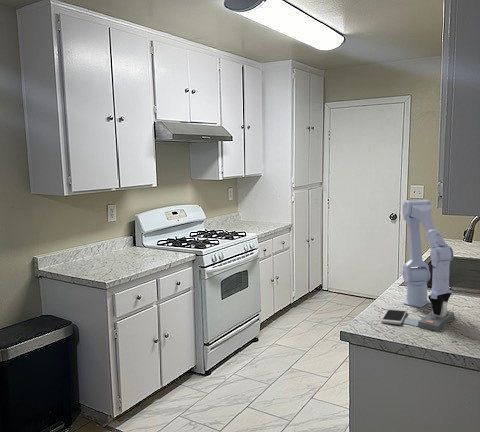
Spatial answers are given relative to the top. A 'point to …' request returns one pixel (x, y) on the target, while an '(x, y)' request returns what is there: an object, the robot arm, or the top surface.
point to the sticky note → (410, 321)
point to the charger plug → (442, 311)
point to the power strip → (435, 321)
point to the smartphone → (394, 316)
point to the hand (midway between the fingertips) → (439, 312)
